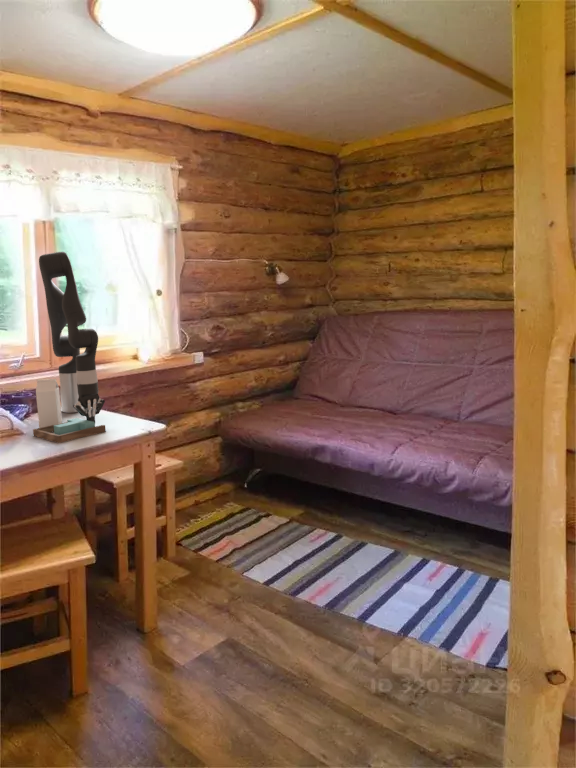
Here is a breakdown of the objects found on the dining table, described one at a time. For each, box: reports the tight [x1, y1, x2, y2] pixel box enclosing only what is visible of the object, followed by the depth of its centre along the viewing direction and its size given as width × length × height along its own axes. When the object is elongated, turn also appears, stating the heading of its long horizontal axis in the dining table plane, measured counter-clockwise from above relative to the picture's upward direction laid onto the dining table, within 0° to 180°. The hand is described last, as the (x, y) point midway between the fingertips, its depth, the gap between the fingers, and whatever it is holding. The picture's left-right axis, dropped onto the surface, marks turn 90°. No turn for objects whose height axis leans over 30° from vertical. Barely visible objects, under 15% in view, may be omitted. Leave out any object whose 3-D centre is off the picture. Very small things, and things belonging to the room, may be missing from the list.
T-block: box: [53, 417, 96, 435], centre depth 225 cm, size 12×12×4 cm
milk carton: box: [35, 378, 63, 428], centre depth 234 cm, size 7×7×19 cm
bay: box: [32, 421, 107, 444], centre depth 224 cm, size 17×19×2 cm
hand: (91, 426), depth 231 cm, fingers closed
